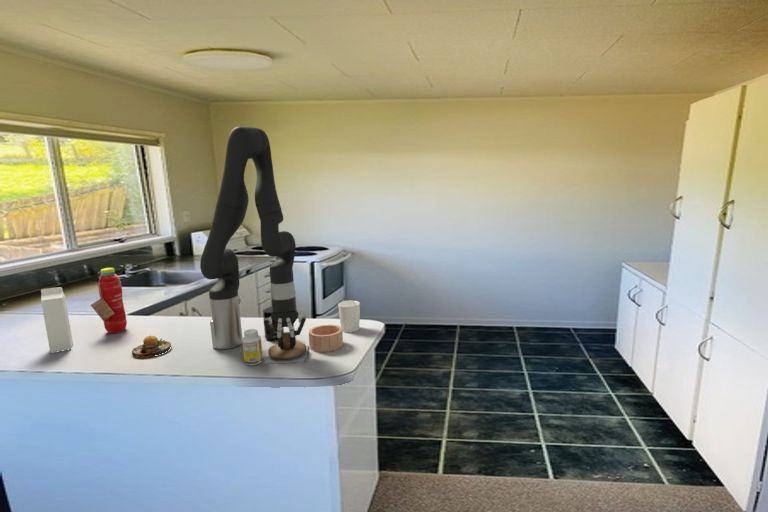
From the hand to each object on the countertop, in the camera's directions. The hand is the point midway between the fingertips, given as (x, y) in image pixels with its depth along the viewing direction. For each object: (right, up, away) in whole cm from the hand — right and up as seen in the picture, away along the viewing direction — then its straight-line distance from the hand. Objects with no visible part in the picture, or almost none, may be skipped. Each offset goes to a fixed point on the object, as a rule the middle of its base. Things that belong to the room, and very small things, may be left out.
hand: (287, 347), depth 143 cm
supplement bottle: (-10, -4, -4) cm, 11 cm away
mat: (0, -3, 0) cm, 3 cm away
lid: (0, -1, 0) cm, 1 cm away
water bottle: (-73, 0, +29) cm, 79 cm away
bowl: (+12, -1, +7) cm, 14 cm away
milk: (-82, -3, +14) cm, 83 cm away
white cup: (+18, +2, +22) cm, 29 cm away
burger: (-48, -3, +8) cm, 48 cm away
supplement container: (-8, 0, +17) cm, 19 cm away
